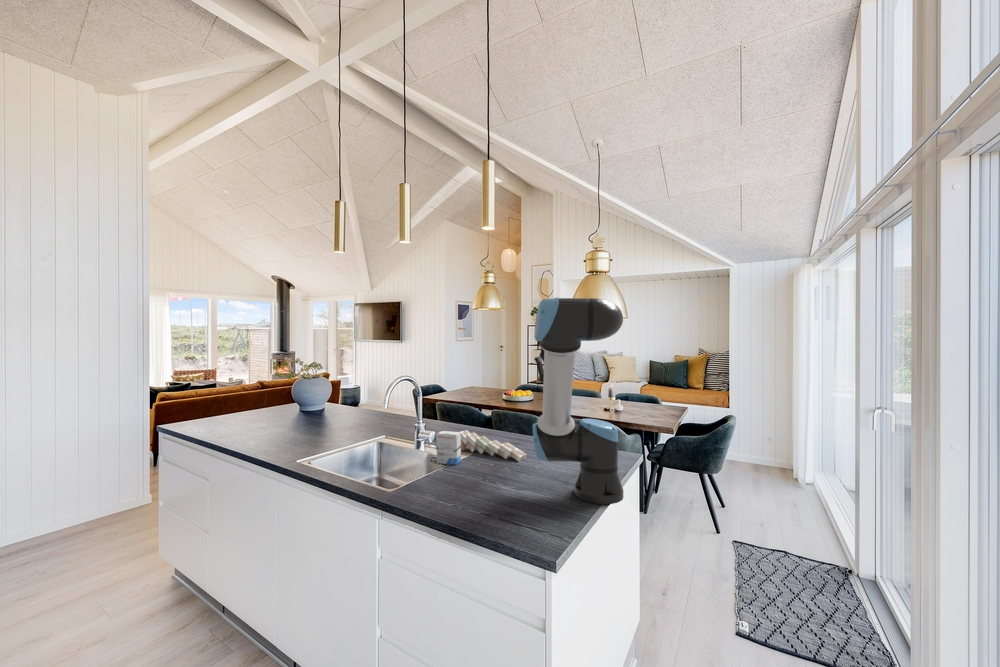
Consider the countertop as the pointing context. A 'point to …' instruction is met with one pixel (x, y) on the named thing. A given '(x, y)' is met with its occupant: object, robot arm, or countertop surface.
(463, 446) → the end stop
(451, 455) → the ink box
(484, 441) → the domino
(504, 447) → the domino
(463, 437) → the domino
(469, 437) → the domino
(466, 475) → the countertop surface
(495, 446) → the domino
